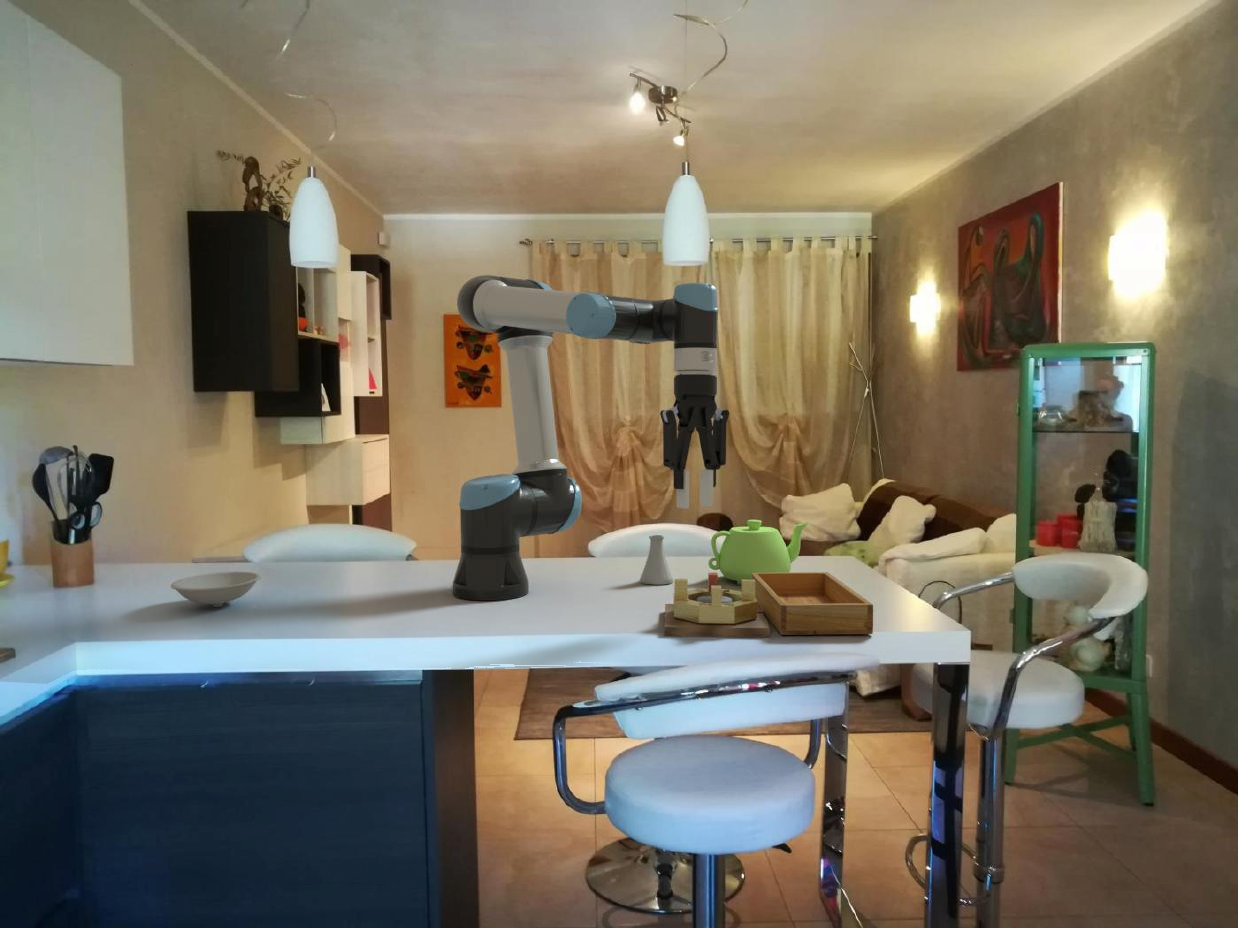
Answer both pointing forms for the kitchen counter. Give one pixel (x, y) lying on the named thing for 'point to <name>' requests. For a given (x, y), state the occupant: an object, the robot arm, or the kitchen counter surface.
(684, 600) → the ring nut
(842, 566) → the kitchen counter surface
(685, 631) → the walnut base
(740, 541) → the teapot
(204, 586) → the dish
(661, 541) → the flask
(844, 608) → the tray
